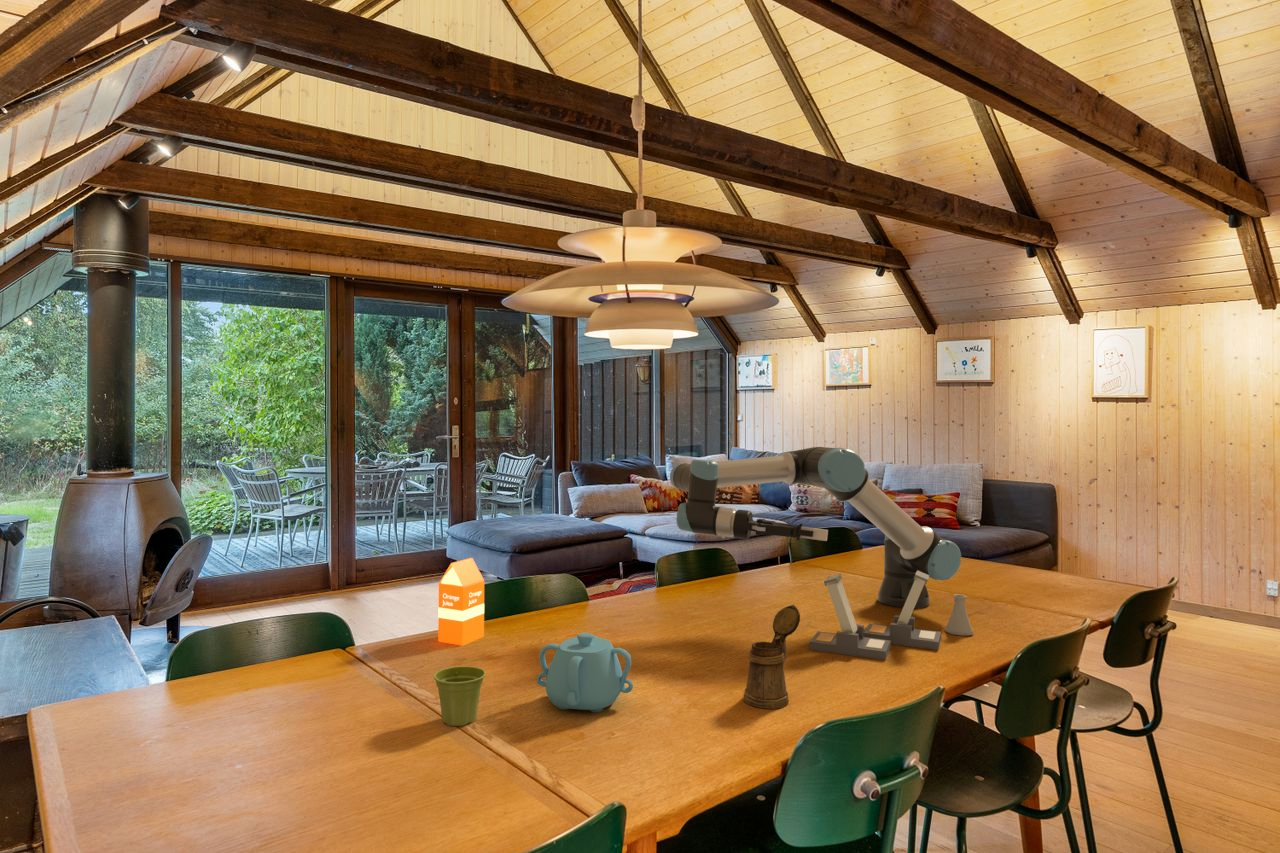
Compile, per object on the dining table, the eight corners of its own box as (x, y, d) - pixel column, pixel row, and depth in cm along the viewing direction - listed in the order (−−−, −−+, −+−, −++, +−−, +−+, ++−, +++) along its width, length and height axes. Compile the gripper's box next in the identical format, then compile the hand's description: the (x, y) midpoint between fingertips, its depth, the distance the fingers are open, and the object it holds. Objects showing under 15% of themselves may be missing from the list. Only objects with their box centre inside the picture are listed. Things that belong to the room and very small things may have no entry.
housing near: (809, 649, 188) (809, 629, 188) (817, 638, 197) (818, 619, 197) (885, 660, 180) (885, 639, 180) (890, 648, 189) (891, 628, 189)
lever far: (893, 626, 195) (915, 574, 193) (896, 621, 200) (917, 570, 198) (905, 632, 194) (927, 579, 191) (908, 626, 199) (929, 575, 197)
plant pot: (438, 711, 146) (438, 665, 146) (488, 710, 147) (488, 665, 147) (428, 731, 137) (429, 682, 137) (482, 729, 138) (482, 682, 138)
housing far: (863, 640, 196) (863, 621, 196) (869, 630, 205) (869, 612, 205) (938, 650, 188) (938, 630, 188) (940, 639, 198) (941, 620, 198)
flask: (968, 629, 208) (969, 593, 208) (977, 637, 200) (978, 599, 200) (941, 628, 208) (941, 592, 208) (949, 636, 201) (949, 598, 201)
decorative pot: (639, 710, 148) (641, 640, 148) (562, 724, 140) (563, 650, 140) (603, 683, 162) (605, 620, 162) (532, 695, 155) (533, 628, 155)
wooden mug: (811, 696, 156) (812, 608, 156) (769, 712, 147) (771, 619, 147) (776, 684, 163) (777, 600, 163) (734, 699, 154) (735, 610, 154)
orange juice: (484, 636, 196) (485, 558, 195) (462, 645, 188) (463, 564, 187) (459, 632, 199) (460, 556, 199) (437, 641, 191) (438, 561, 191)
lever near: (843, 640, 186) (823, 581, 188) (847, 634, 192) (828, 576, 194) (856, 637, 185) (836, 578, 187) (860, 631, 190) (840, 573, 192)
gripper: (739, 535, 206) (828, 547, 198) (728, 539, 194) (822, 553, 185) (742, 508, 206) (831, 518, 198) (730, 510, 194) (825, 522, 186)
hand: (827, 535), depth 192 cm, fingers closed
